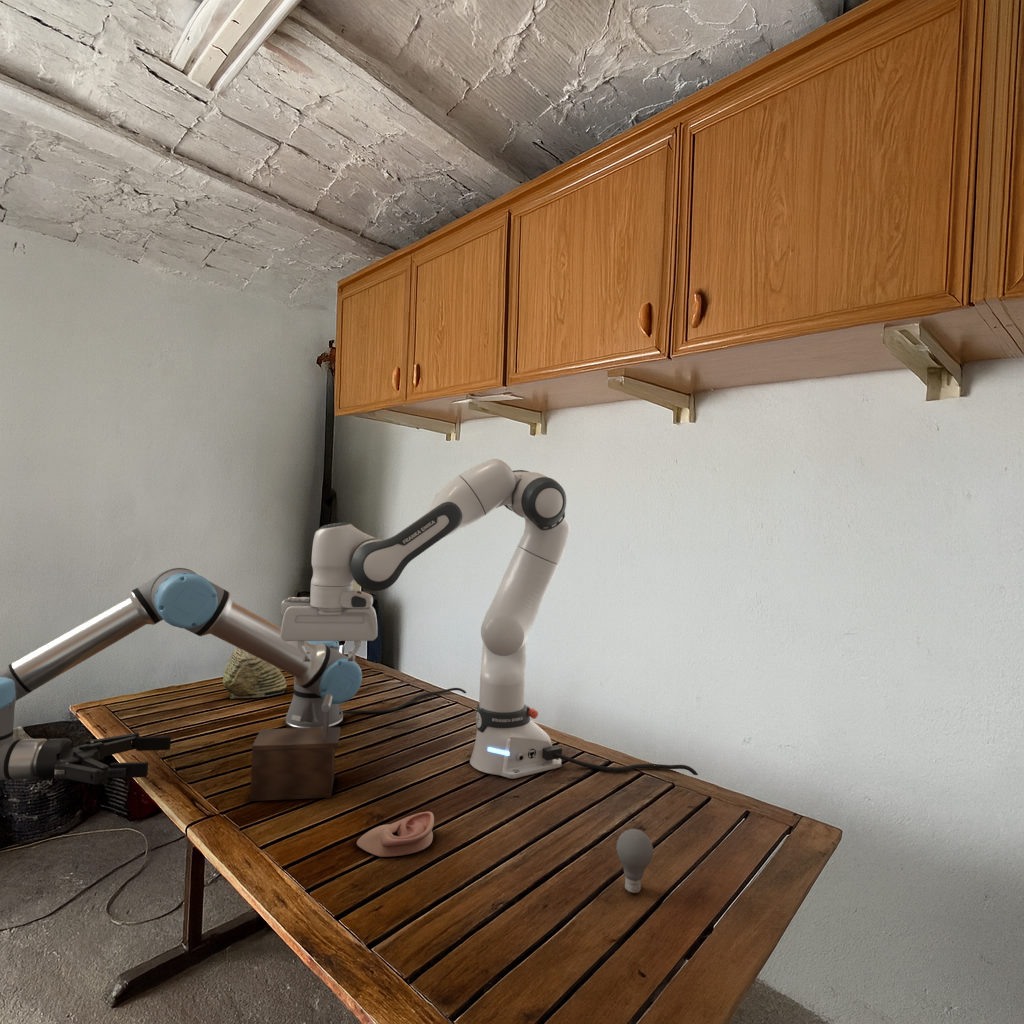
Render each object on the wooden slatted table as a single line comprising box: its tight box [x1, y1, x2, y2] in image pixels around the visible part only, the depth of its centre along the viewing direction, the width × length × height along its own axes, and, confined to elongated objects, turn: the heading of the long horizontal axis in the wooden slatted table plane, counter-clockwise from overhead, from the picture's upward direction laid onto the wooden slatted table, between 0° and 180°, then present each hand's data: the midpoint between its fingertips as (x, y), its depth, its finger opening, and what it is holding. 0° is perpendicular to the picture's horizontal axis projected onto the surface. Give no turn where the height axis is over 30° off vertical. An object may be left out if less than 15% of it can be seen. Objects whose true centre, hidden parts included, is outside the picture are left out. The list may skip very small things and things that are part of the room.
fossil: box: [222, 647, 288, 699], centre depth 198 cm, size 9×18×15 cm, turn 132°
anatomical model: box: [356, 811, 435, 858], centre depth 118 cm, size 13×4×12 cm
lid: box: [251, 694, 342, 752], centre depth 136 cm, size 17×9×9 cm, turn 102°
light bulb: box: [615, 828, 654, 894], centre depth 106 cm, size 6×6×10 cm
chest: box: [249, 748, 336, 802], centre depth 137 cm, size 16×9×10 cm, turn 102°
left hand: (159, 755), depth 131 cm, fingers open, 13 cm apart
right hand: (329, 660), depth 137 cm, fingers open, 8 cm apart
